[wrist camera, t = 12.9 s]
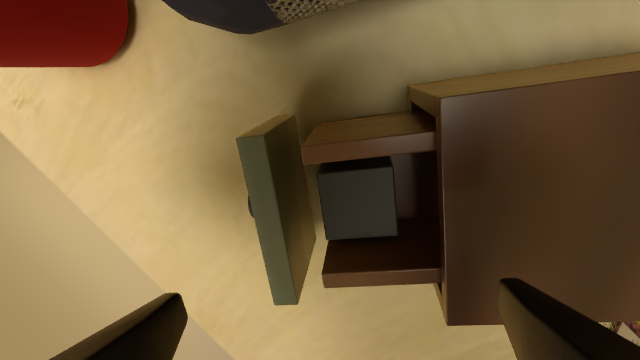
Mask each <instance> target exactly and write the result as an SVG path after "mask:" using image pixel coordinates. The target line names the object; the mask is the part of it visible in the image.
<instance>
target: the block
mask: <svg viewBox="0 0 640 360" xmlns="http://www.w3.org/2000/svg"><path fill="white" fill-rule="evenodd" d="M316 176H317V183H318V189H319V196H320V203H321V209H322V216H323V222H324V229H325V236H326V239H327V240H339V239H355V238H371V237H387V236H398V222H397V209H396V195H395V181H394V167H393V164H392V161H391V158H390V156H382V157H373V158H363V159H354V160H345V161H336V162H327V163H321V165H320V167H319V170H318V172H317V174H316Z"/></svg>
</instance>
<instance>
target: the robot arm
mask: <svg viewBox="0 0 640 360" xmlns="http://www.w3.org/2000/svg"><path fill="white" fill-rule="evenodd" d="M498 308H499V313H500V316H501V318H502V321H503V323H504V326H505V329H506V331H507V334H508V336H509V339H510V342H511V344H512V347H513V349H514V352H515V354H516V357H517V360H640V346H638V345H636V344H635V343H633V342H631V341H629V340H628V339H626V338H624V337H622V336H620V335H619V334H617V333H615V332H613V331H612V330H610V329H608V328H606V327H605V326H603V325H601V324H599V323H597V322H596V321H594V320H592V319H590V318H589V317H587V316H585V315H583V314H581V313H580V312H578V311H576V310H574V309H573V308H571V307H569V306H567V305H565V304H564V303H562V302H560V301H558V300H557V299H555V298H553V297H551V296H549V295H548V294H546V293H544V292H542V291H541V290H539V289H537V288H535V287H533V286H532V285H530V284H528V283H526V282H525V281H523V280H521V279H519V278H502V279H500V281H499V294H498ZM187 319H188V316H187V312H186V309H185V306H184V303H183V300H182V297H181V295H180V294H179V293H165V294H163V295H161V296H160V297H158V298H156V299H154V300H153V301H151V302H149V303H147V304H146V305H144V306H142V307H140V308H139V309H137V310H135V311H133V312H132V313H130V314H128V315H127V316H125V317H123V318H121V319H119V320H118V321H116V322H114V323H112V324H111V325H109V326H107V327H105V328H104V329H102V330H100V331H98V332H97V333H95V334H93V335H91V336H90V337H88V338H86V339H84V340H83V341H81V342H79V343H77V344H76V345H74V346H72V347H70V348H69V349H67V350H65V351H63V352H62V353H60V354H58V355H56V356H55V357H53V358H51V359H50V360H172V359H173V356H174V354H175V351H176V349H177V346H178V344H179V341H180V339H181V336H182V334H183V331H184V329H185V326H186V324H187Z"/></svg>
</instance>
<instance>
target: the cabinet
mask: <svg viewBox="0 0 640 360" xmlns="http://www.w3.org/2000/svg"><path fill="white" fill-rule="evenodd" d="M408 97H409V112H412V111H419V110H425V111H426V112H428V113H429V114H431V115H432V116H434V117H435V118H436V141H437V168H438V196H439V223H440V250H441V278H442V283H433V284H434V287H435V290H436V293H437V296H438V299H439V302H440V305H441V308H442V311H443V315H444V318H445V321H446V324H447V326H461V325H504V323H503V321H502V318H501V316H500V313H499V308H498V294H499V281H500V279H502V278H519V279H521V280H523V281H525V282H526V283H528V284H530V285H532V286H533V287H535V288H537V289H539V290H541V291H542V292H544V293H546V294H548V295H549V296H551V297H553V298H555V299H557V300H558V301H560V302H562V303H564V304H565V305H567V306H569V307H571V308H573V309H574V310H576V311H578V312H580V313H581V314H583V315H585V316H587V317H589V318H590V319H592V320H594V321H596V322H639V321H640V52H638V53H631V54H624V55H617V56H610V57H603V58H596V59H589V60H582V61H575V62H568V63H561V64H555V65H548V66H541V67H534V68H527V69H520V70H513V71H506V72H499V73H492V74H485V75H478V76H471V77H464V78H457V79H450V80H443V81H436V82H429V83H422V84H415V85H409V86H408Z"/></svg>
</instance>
